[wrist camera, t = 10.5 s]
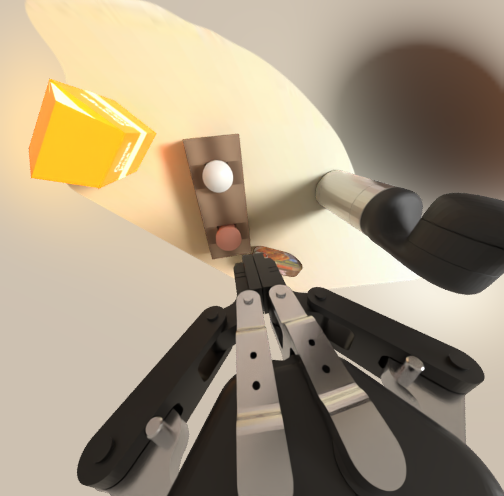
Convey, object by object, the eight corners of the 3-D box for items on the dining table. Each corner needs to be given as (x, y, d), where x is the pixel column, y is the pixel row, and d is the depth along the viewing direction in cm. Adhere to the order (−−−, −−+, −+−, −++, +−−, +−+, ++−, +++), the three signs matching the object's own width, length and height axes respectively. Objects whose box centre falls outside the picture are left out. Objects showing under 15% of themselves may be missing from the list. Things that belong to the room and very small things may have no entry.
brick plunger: (236, 215, 44) (239, 226, 39) (239, 235, 47) (242, 248, 42) (213, 218, 44) (213, 230, 38) (218, 238, 47) (218, 252, 41)
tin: (296, 254, 56) (308, 272, 49) (291, 262, 58) (302, 280, 51) (251, 243, 51) (257, 260, 44) (247, 252, 53) (252, 270, 46)
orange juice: (157, 133, 35) (103, 132, 18) (137, 172, 38) (74, 201, 21) (112, 98, 32) (-5, 58, 15) (93, 144, 34) (-23, 153, 18)
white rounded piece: (228, 155, 38) (230, 159, 33) (232, 183, 41) (234, 190, 36) (201, 158, 38) (199, 162, 32) (207, 186, 41) (206, 194, 35)
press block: (236, 133, 37) (239, 133, 33) (248, 243, 51) (251, 252, 47) (186, 138, 36) (182, 139, 32) (212, 248, 50) (212, 259, 46)
